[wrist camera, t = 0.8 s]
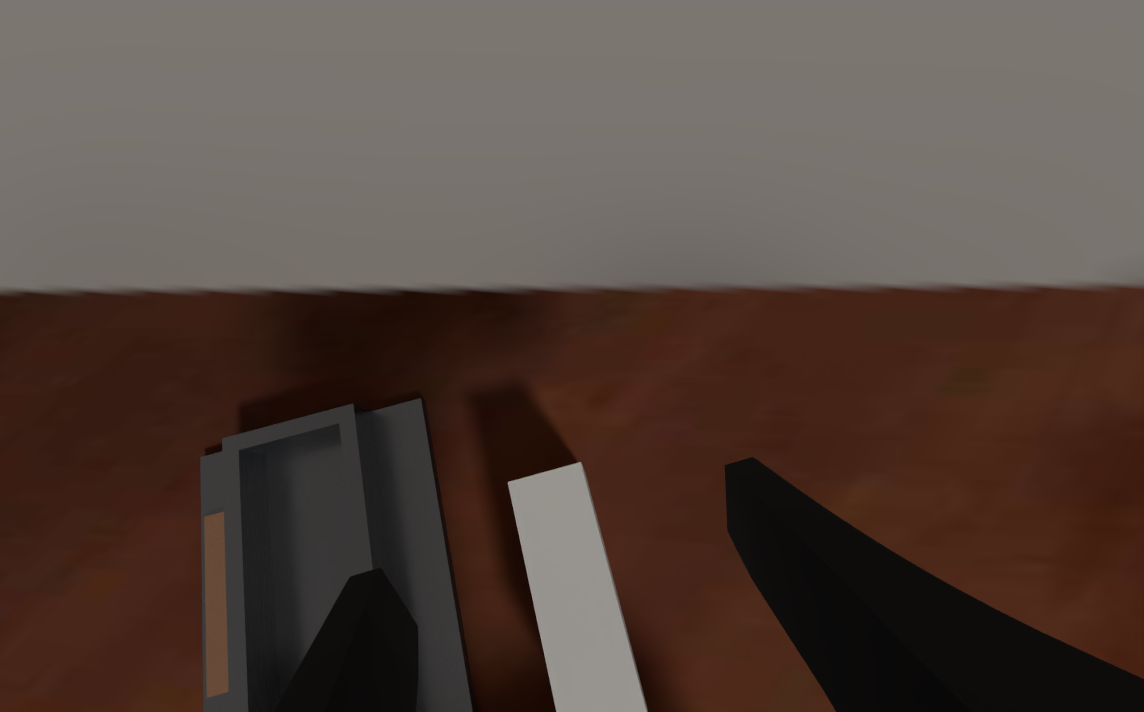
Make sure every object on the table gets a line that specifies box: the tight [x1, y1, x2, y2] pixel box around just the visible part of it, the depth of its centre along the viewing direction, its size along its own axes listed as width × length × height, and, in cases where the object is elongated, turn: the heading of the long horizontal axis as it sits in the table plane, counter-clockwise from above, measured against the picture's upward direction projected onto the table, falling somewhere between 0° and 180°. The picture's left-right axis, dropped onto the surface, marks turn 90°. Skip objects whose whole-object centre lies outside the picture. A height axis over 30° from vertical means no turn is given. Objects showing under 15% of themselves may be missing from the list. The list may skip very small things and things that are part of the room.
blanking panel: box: [508, 462, 648, 712], centre depth 20 cm, size 10×3×6 cm, turn 15°
